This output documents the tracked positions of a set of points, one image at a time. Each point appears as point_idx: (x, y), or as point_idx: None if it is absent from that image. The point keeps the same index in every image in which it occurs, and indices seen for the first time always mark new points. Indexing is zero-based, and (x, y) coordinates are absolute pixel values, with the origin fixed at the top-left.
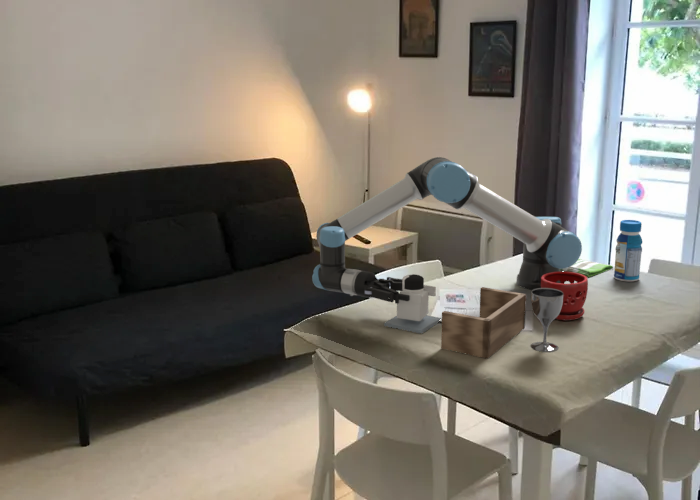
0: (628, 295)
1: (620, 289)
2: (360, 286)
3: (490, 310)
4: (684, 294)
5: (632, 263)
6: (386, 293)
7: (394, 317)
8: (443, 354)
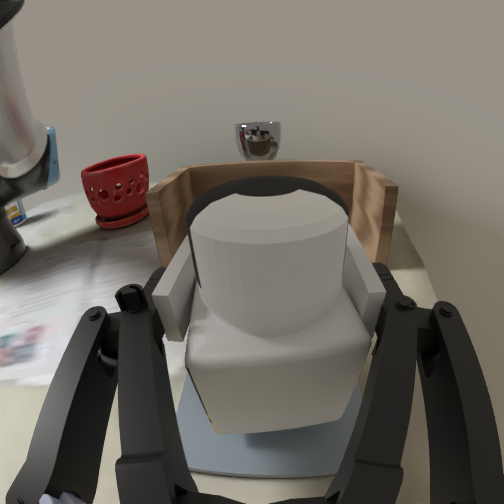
0: (61, 211)
1: (42, 218)
2: None
3: (177, 231)
4: (68, 197)
5: (21, 200)
6: (467, 336)
7: (278, 470)
8: (400, 259)
